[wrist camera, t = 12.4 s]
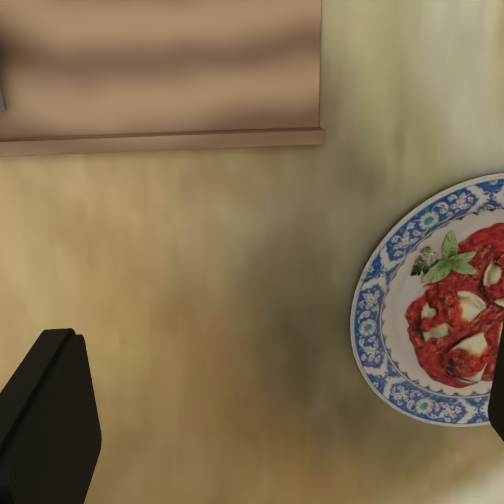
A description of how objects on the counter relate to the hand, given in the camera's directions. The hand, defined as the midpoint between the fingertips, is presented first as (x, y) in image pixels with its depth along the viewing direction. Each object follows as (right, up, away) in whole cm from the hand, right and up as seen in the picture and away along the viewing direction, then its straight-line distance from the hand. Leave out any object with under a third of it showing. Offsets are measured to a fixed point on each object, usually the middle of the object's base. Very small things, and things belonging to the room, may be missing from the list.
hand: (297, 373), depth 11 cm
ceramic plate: (+21, -2, +35) cm, 41 cm away
